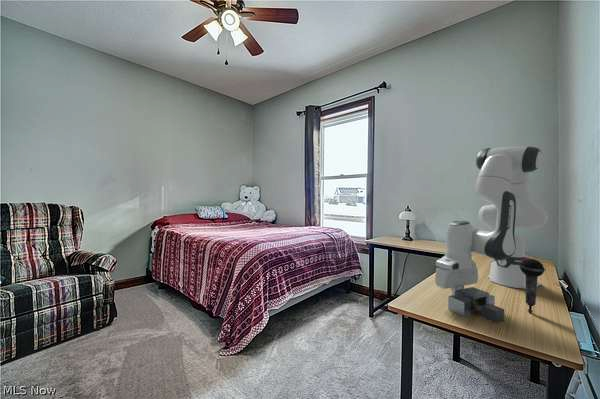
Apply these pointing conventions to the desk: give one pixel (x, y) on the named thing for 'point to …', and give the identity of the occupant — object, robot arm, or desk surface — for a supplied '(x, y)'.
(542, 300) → the desk surface
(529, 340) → the desk surface
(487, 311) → the plug
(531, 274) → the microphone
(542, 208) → the robot arm
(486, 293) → the block
